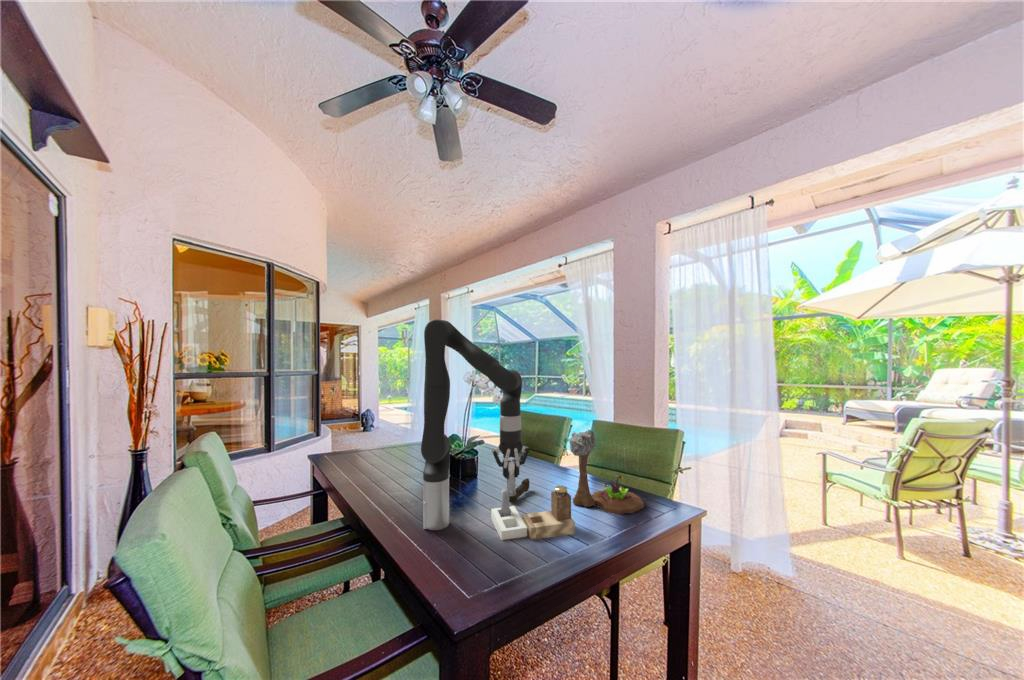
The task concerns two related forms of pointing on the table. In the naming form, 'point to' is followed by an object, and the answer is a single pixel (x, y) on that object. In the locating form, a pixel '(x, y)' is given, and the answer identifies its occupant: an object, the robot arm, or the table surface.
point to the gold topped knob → (561, 490)
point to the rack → (508, 519)
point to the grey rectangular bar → (511, 478)
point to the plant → (617, 499)
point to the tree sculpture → (583, 465)
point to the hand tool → (520, 490)
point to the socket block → (551, 519)
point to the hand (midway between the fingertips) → (510, 476)
